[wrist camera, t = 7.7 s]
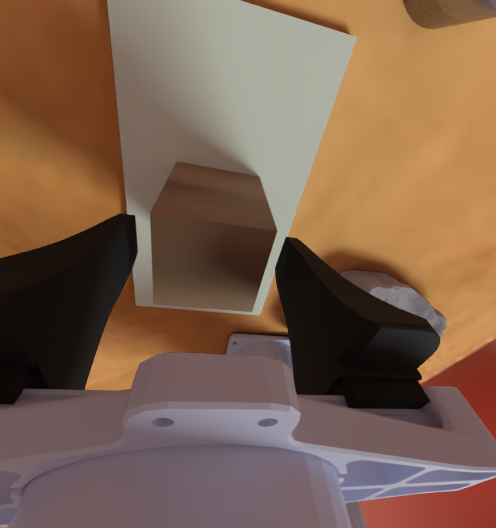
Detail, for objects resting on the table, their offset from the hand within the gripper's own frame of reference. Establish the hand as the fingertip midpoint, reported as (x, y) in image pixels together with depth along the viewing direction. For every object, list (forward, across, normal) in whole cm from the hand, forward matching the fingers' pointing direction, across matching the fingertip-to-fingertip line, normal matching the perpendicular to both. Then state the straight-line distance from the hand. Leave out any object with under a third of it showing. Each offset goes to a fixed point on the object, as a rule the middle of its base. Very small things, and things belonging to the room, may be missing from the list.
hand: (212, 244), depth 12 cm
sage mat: (+4, 0, 0) cm, 4 cm away
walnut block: (+4, 0, 0) cm, 4 cm away
